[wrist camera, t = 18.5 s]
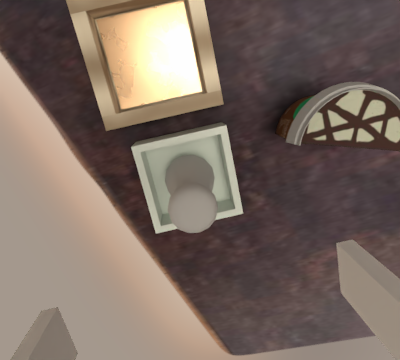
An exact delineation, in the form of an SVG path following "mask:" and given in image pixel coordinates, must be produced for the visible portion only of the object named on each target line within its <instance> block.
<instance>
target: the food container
mask: <svg viewBox="0 0 400 360" xmlns="http://www.w3.org/2000/svg"><path fill="white" fill-rule="evenodd" d="M275 134H277V135H279V136H281V137H283V138H285V139H286V142H288V143H291V144H296V145H299V146H300V144H301V143H303V144H319V145H331V146H343V147H353V148H369V149H381V150H393V151H400V100H399V99H398V98H397V97H396V96H395V95H394V94H392V93H390V92H389V91H387V90H385V89H383V88H380V87H377V86H374V85H371V84H367V83H362V82H346V83H340V84H337V85H334V86H331V87H329V88H327V89H325V90H323V91H321V92H319V93H318V94H317V95H313V96H307V97H304V98H301V99H299V100H298V101H296V102H294V103H293V104H292V105H290V106H289V107H288V108H287V109H286V111H285V112H284V113H283V115H282V116H281V118H280V120H279V122H278V125H277V128H276V132H275Z"/></svg>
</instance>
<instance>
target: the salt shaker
mask: <svg viewBox="0 0 400 360" xmlns="http://www.w3.org/2000/svg"><path fill="white" fill-rule="evenodd" d="M214 179H215V177H214V173H213V169H212V166H211V165H210V164H209V163H208V162H207V161H206V160H205V159H203V158H201V157H198V156H196V155H182V156H181V157H179V158H177V159H175V160H173V161H172V163H171V164H170V166H169V167H168V169H167V170H166V176H165V183H166V186H167V189H168V192H169V194H170V195H171V196H170V199H169V205H168V213H169V215H170V218H171V221H172V223H173V224H174V225H175V226H176V227H177V228H178V229H179V230H182V231H184V232H187V233H199V232H202V231H204V230H205V229H207V228H209V227H210V226H211V225H212V223H213V222H214V221H215V219H216V215H217V210H218V205H217V201H216V197H215V195H214V194H213V193H212V190H213V185H214Z"/></svg>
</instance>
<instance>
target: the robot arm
mask: <svg viewBox="0 0 400 360" xmlns="http://www.w3.org/2000/svg"><path fill="white" fill-rule="evenodd" d="M336 244H337V255H338V266H339V277H340V288H341V293H342V295H343V296H344V297H345V298H346V300H347V301H348V302H349V303H350V304H351V306H352V307H353V308H354V309H355V311H356V312H357V313H358V314H359V315H360V317H361V318H362V319H363V320H364V322H365V323H366V324H367V325H368V327H369V328H370V329H371V330H372V331H373V333H374V334H375V335H376V336H377V337H378V339H379V340H380V341H381V343H382V344H383V345H384V346H385V347H386V349H387V350H388V351H389V352H390V354H391V355H392V356H393V357H394V358H395V360H400V279H399V278H398V277H397V276H396V275H394V274H393V273H392V272H391V271H390V270H388V269H387V268H386V267H385V266H384V265H382V264H381V263H380V262H379V261H378V260H376V259H375V258H374V257H373V256H372V255H370V254H369V253H368V252H367V251H366V250H365V249H363V248H362V247H361V246H360V245H359V244H357V243H356V242H355V241H354V240H348V241H344V242H340V243H336ZM77 354H78V353H77V350H76V348H75V346H74V343H73V341H72V339H71V336H70V334H69V332H68V330H67V327H66V325H65V323H64V320H63V318H62V316H61V313H60V311H59V309H58V307H56V308H52V309H48V310H43V311H41V313H40V314H39V316H38V317H37V319H36V321H35V322H34V324H33V325H32V327H31V328H30V330H29V331H28V333H27V334H26V336H25V338H24V339H23V341H22V342H21V344H20V346H19V347H18V349H17V350H16V352H15V353H14V355H13V357H12V358H11V360H75V359H76V356H77Z"/></svg>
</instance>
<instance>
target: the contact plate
mask: <svg viewBox="0 0 400 360" xmlns="http://www.w3.org/2000/svg"><path fill="white" fill-rule="evenodd" d="M96 21H97V24H98V28H99V31H100V35H101V38H102V42H103V45H104V49H105V52H106V56H107V59H108V63H109V66H110V70H111V73H112V77H113V80H114V84H115V87H116V91H117V94H118V98H119V101H120V105H121V108H122V109H127V108H131V107H136V106H140V105H144V104H149V103H153V102H158V101H162V100H166V99H171V98H175V97H180V96H184V95H188V94H193V93H197V92H202V88H201V83H200V78H199V73H198V68H197V63H196V59H195V54H194V49H193V44H192V39H191V34H190V30H189V25H188V20H187V15H186V10H185V5H184V1H183V0H182V1H178V2H173V3H169V4H164V5H160V6H156V7H151V8H147V9H142V10H138V11H134V12H129V13H125V14H120V15H116V16H111V17H107V18H103V19H98V20H96Z"/></svg>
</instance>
